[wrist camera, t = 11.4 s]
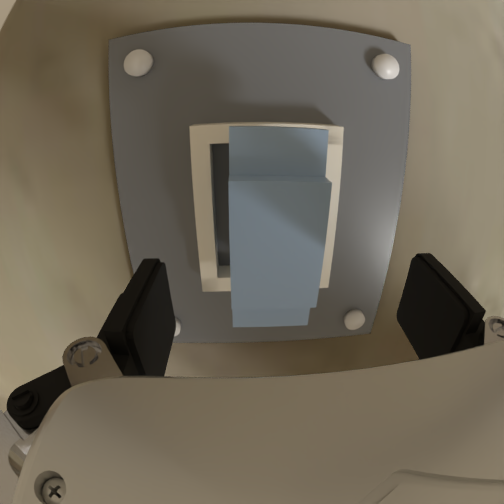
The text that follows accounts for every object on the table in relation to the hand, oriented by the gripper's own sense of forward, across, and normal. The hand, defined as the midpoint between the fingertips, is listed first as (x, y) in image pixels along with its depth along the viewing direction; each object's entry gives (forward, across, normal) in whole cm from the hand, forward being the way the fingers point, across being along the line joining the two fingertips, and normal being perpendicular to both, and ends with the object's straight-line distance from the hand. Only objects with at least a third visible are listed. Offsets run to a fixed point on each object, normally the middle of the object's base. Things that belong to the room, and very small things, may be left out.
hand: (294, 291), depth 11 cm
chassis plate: (+9, 0, 0) cm, 9 cm away
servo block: (+8, 0, 0) cm, 8 cm away
